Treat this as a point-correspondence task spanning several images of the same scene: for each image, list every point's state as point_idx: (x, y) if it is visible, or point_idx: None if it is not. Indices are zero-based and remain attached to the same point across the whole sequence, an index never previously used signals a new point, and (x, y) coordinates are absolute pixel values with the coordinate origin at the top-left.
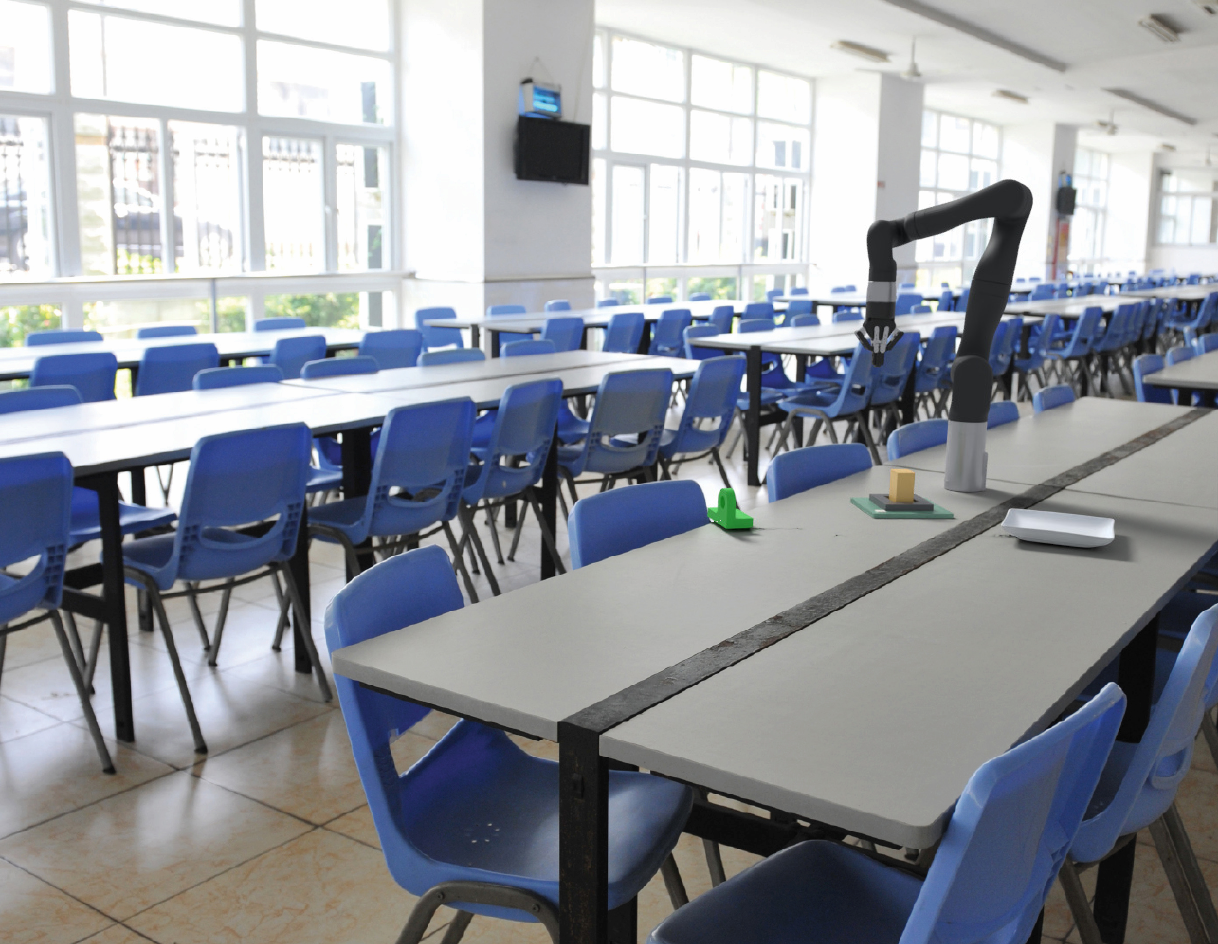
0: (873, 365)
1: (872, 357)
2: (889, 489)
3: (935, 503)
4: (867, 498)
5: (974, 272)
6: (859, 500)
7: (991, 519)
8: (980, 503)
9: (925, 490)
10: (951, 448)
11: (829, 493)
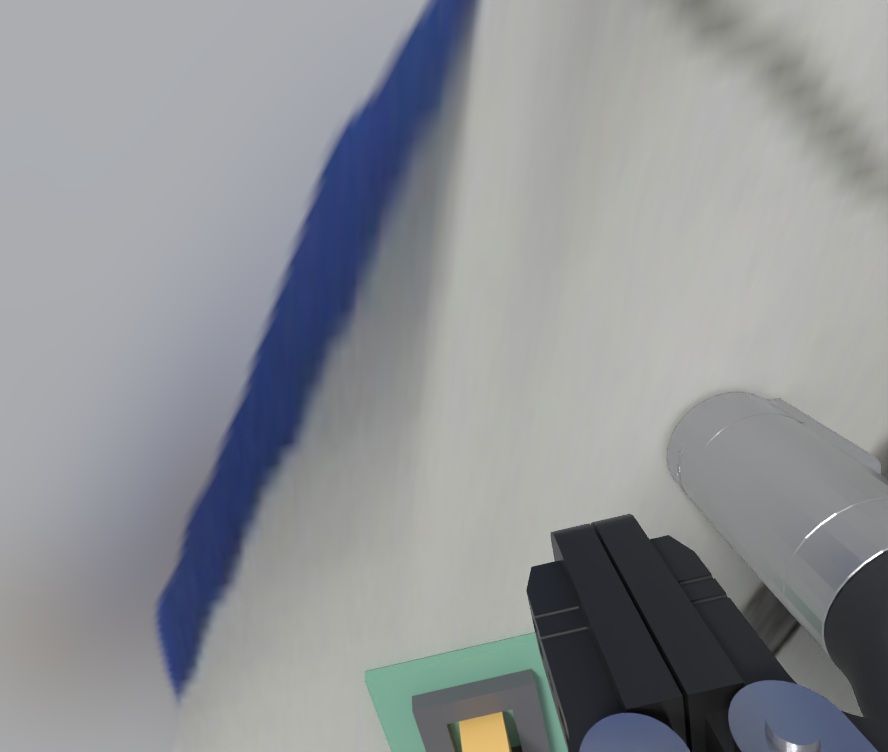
0: (554, 543)
1: (555, 702)
2: (462, 748)
3: None
4: (409, 679)
5: None
6: (387, 705)
7: None
8: None
9: (602, 474)
10: (748, 563)
11: (307, 588)
